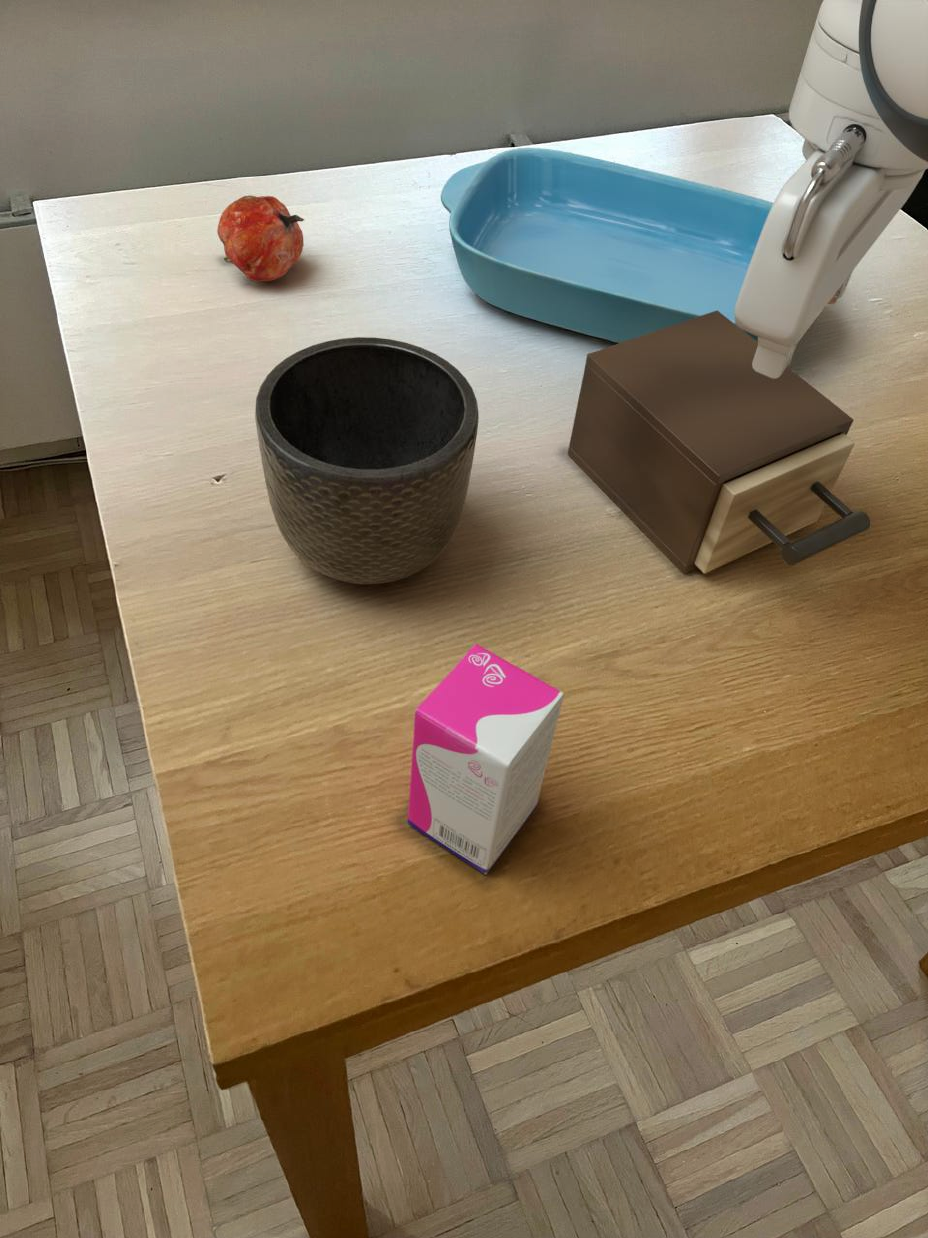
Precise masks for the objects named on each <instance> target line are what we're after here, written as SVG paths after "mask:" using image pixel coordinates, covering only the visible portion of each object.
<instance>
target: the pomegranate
mask: <svg viewBox="0 0 928 1238" xmlns="http://www.w3.org/2000/svg"><path fill="white" fill-rule="evenodd" d="M305 220H306V219H305V218H303V217H300V216H299V215H298V214H292V215H291V213H290V211H289V210H288V208H287V206H286V205H285V204H284V203H283V202H281V201H280V200H279V199H278V198H276V197H275V196H273V195H272V196H271V195H261V196H260V195H259V196H256V195H251V194H249V195H243V196H242V197H240V198H238V199H236V200H234V201H233V202H232V203H230V204H228V205H227V206H226V208H225V209H224V210H223V211H222V213H221V215H220V218H219V220H218V225H217V230H216V232H217V236H218V238H219V240H220V242H221V243H222V244H223V251H224V254H225V257H224V258H223V260H224V262H227V261H228V260H229V262H231V263H232V264H233V266H235V267H236V268H237V269H238V270H239V271H240V272H242V273H243V274H244V275H245V276H246V278H247V279H248V280H251V281H255V282H270V281H276V280H278V279H280V278H282V277H284V276H285V275H286V274H287V273H288V272H289V271H290V269H291V268H292V267H293V266H294V265H295V264H297V262H298V261H299V260H300V257H301V255H302V254H303V249H304V246H305V245H304V234H303V230H302V229H301V227H300V225H299V222H303V221H305Z"/></svg>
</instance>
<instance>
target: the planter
mask: <svg viewBox="0 0 928 1238" xmlns="http://www.w3.org/2000/svg"><path fill="white" fill-rule="evenodd" d="M478 406H479V405H478V400H477V397H476V394H475V392H474V389H473V388H472V386H471V384H470V383H469V381H468V379H467V378H466V377H465V376H464V375H463V374H462V372H461V371H460V370H459V369H457V367H455V365H453V364H452V363H450V362H449V361H448V360H446V359H444V358H443V357H441V356H440V355H438V354H436V353H435V352H433V351H430V350H428V349H425V348H423V347H421V346H418V345H415V344H411V343H408V342H405V341H400V340H397V339H391V338H382V337H373V336H372V337H369V336H362V337H361V336H357V337H356V336H355V337H345V338H343V337H342V338H338V339H332V340H326V341H323V342H320V343H316V344H312V345H310V346H308V347H305V348H302V349H300V350H298V351H296V352H294V353H293V354H291V355H289V356H288V357H285V358H284V359H283V360H282V361H280V362H279V363H278V364H277V365H275V366H274V368H273V369H271V370H270V372H269V373H268V374H267V375H266V377H265V378H264V380H263V381H262V383H261V385H260V386H259V389H258V392H257V395H256V398H255V408H254V409H255V410H254V420H255V426H256V434H257V439H258V447H259V452H260V459H261V465H262V469H263V475H264V482H265V487H266V491H267V497H268V500H269V504H270V508H271V510H272V514H273V516H274V520H275V522H276V525H277V527H278V529H279V532H280V534H281V536H282V537H283V539H284V541H285V542H286V544H287V546H288V547H289V549H290V550H291V551H292V552H293V554H295V555H296V556H297V557H298V558H299V559H300V560H301V561H302V562H303V563H305V564H306V565H307V566H309V567H310V568H311V569H312V570H314V571H316V572H318V573H320V574H322V575H324V576H325V577H328V578H330V579H334V580H337V581H340V582H345V583H347V584H348V583H350V584H352V585H353V584H354V585H359V586H377V585H383V584H389V583H392V582H396V581H400V580H404V579H406V578H408V577H411V576H413V575H415V574H416V573H418V572H420V571H422V570H423V569H425V568H427V566H429V565H430V564H432V563H433V562H434V561H435V560H436V559H437V558H438V557H439V556H440V555H441V554H442V553H443V551H445V549H446V548H447V546H448V544H449V543H450V542H451V540H452V538H453V536H454V534H455V532H456V531H457V527H458V525H459V522H460V519H461V516H462V513H463V511H464V507H465V504H466V500H467V499H466V498H467V495H468V489H469V486H470V485H469V484H470V479H471V474H472V468H473V463H474V457H475V450H476V443H477V437H478V436H477V435H478V429H479V417H480V416H479V407H478Z"/></svg>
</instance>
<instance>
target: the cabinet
mask: <svg viewBox="0 0 928 1238" xmlns="http://www.w3.org/2000/svg"><path fill="white" fill-rule="evenodd" d="M757 347H758V342H756V341H755V340H754V339H753V338H751V337H750V336H749V335H748V334H746V333H745V332H744V331H743V330H741V329H740V328H739V327H738V326H736V325H735V324H734V323H733V322H731V321H730V320H729V319H728V318H726V317H725V316H724V315H723V314H721V313H720V312H719V311H718V310H716V311H713V312H711V313H708V314H705V315H702V316H699V317H696V318H693V319H690V320H687V321H684V322H681V323H678V324H675V325H672V326H669V327H666V328H663V329H660V330H657V331H654V332H651V333H649V334H646V335H643V336H640V337H637V338H634V339H631V340H628V341H625V342H622V343H616V344H613V345H611V346H608V347H604V348H602V349H599V350H596V351H593V352H590V353H587V354H586V359H585V364H584V369H583V374H582V380H581V386H580V390H579V396H578V401H577V404H576V405H577V406H576V410H575V415H574V420H573V425H572V430H571V436H570V439H569V440H570V441H569V444H568V449H567V456H568V457H569V458H570V459H571V460H572V461H573V462H574V463H575V464H576V465H577V466H578V467H579V468H580V469H581V470H582V471H583V472H584V473H585V474H586V475H587V476H588V478H590V480H592V481H593V482H594V483H595V484H596V485H597V487H598V488H600V489H601V491H602V492H603V493H604V494H605V495H606V496H607V497H608V498H609V499H610V500H611V501H612V502H613V503H614V504H615V505H616V507H618V508H619V509H620V510H621V511H622V513H624V514H625V515H626V516H627V518H629V520H631V521H632V522H633V523H634V524H635V526H637V528H639V530H641V532H642V533H643V534H644V535H645V536H646V537H647V538H648V539H649V540H650V541H651V542H652V543H653V544H654V545H655V546H656V547H657V548H658V549H659V550H660V551H661V552H662V554H663V555H664V556H665V557H666V558H667V559H669V560H670V561H671V563H673V565H674V566H675V567H676V568H677V569H678V570H679V571H680V572H681V573H682V574H683V575H686V574H688V573H690V572H692V571H695V570H697V569H699V568H698V567H697V566H696V565H695V564H694V562H695V559H696V557H697V554H698V551H699V549H700V546H701V543H702V540H703V538H704V535H705V532H706V529H707V527H708V524H709V521H710V519H711V516H712V513H713V510H714V508H715V505H716V502H717V499H718V497H719V494H720V491H721V489H722V486H723V484H724V482H725V481H727V480H730V479H732V478H734V477H737V476H739V475H741V474H744V473H746V472H748V471H751V470H753V469H755V468H758V467H760V466H762V465H765V464H767V463H769V462H772V461H774V460H777V459H779V458H781V457H784V456H786V455H788V454H791V453H793V452H795V451H798V450H800V449H802V448H805V447H807V446H809V445H812V444H814V443H815V444H814V445H816V444H818V443H821V442H823V441H825V440H828V439H830V438H832V437H835V436H837V435H839V434H842V433H844V434H846V435H847V436H848V434H849V431H850V428H851V427H852V425H853V422H854V418H853V417H851V416H850V415H849V414H848V413H846V412H845V411H844V410H842V408H840V407H839V406H838V405H836V404H835V403H834V402H833V401H831V400H830V399H829V398H827V397H826V395H824V394H823V393H821V392H820V391H819V390H817V388H815V387H814V386H813V385H812V384H810V383H809V382H807V380H806V379H804V378H803V377H802V376H800V375H799V374H797V373H796V372H795V371H794V370H793V369H792V368H790V367H789V365H788V366H787V368H786V369H785V371H784V372H783V373H782V375H781V376H780V377H779V378H776V379H773V378H770V377H768V376H765V375H763V374H760V373H758V372H756V371H755V370H754V369H753V367H752V362H753V359H754V356H755V353H756V350H757Z"/></svg>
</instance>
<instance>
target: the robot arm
mask: <svg viewBox="0 0 928 1238" xmlns="http://www.w3.org/2000/svg"><path fill="white" fill-rule="evenodd" d="M788 118H789V122H790V124H791V125H792V127H793V129H794V130H795V131H796V133H797V134H798V135H799V136H801V137H802V138H803V139H804V141H803V144H802V148H801V152H802V155H803V156H802V157H804V159H805V161H804V163H802V164H801V166H800V167H799V168H797V169H796V171H795V172H794V173H793V174H792V175H791V176H790V177H789V178H788V179H787V180H786V181H785V183H784V184H783V186H782V187H781V188H780V190H779V192H778V193H777V196H776V197H775V199H774V201H773V202H772V203H773V205H772V208H771V210H770V212H769V214H768V217H767V219H766V221H765V224H764V227H763V229H762V232H761V234H760V237H759V240H758V242H757V245H756V248H755V251H754V254H753V256H752V259H751V262H750V265H749V267H748V270H747V273H746V276H745V279H744V282H743V284H742V287H741V290H740V293H739V296H738V299H737V302H736V306H735V312H734V316H735V323H736V325H737V326H738V327H739V328H740V329H742V330H744V331H746V332H749V333H751V334H753V335H756V336H758V347H757V350H756V353H755V356H754V359H753V362H752V367H753V369H754V370H755V371H756V372H758V373H760V374H763V375H765V376H768V377H770V378H773V379H776V378H779V377H780V376H781V375H782V373H783V372H784V371H785V369H786V368H787V366H788V367H789V365H790V363H791V361H792V357H793V355H794V353H795V350H796V348H797V346H798V343H799V342H800V341H801V339H802V338H803V337H804V335H805V334H806V333H807V331H808V330H809V329H810V328H811V326H812V325H813V323H814V322H815V321H816V319H817V318H818V317H819V316H820V314H822V312H823V311H824V309H825V308H826V307H827V306H829V305H830V306H831V305H834V304H836V303H837V301H839V300H840V299H841V298H840V296H841V295H842V294H843V295H844V293H845V292H846V289H847V286H848V284H849V282H850V279H851V277H852V274H853V272H854V270H855V269H856V268H857V266H858V265H859V264H860V262H861V261H862V260H863V258H864V257H865V256H866V254H867V253H868V252H869V251H870V249H871V248H872V246H873V245H874V244H875V242H876V241H877V240H878V239H879V238H880V236H881V235H882V234H883V232H884V231H885V230H886V228H887V227H888V226H889V224H890V223H891V222H892V220H894V218H895V217H896V215H897V214H898V213H899V211H900V210H901V209H902V208H903V207H904V205H905V204H906V203H907V201H908V200H909V198H910V197H911V195H912V194H913V192H914V190H915V189H916V187H917V185H918V184H919V182H920V181H921V179H922V178H923V175H924V173H925V171H926V170H927V169H928V0H822V3H821V5H820V7H819V9H818V13H817V16H816V20H815V23H814V26H813V30H812V33H811V36H810V38H809V43H808V46H807V49H806V53H805V56H804V59H803V62H802V66H801V69H800V73H799V75H798V79H797V82H796V86H795V89H794V92H793V95H792V98H791V102H790V105H789V108H788ZM843 295H842V296H843ZM842 296H841V297H842ZM839 298H840V299H839ZM827 304H828V305H827Z"/></svg>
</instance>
